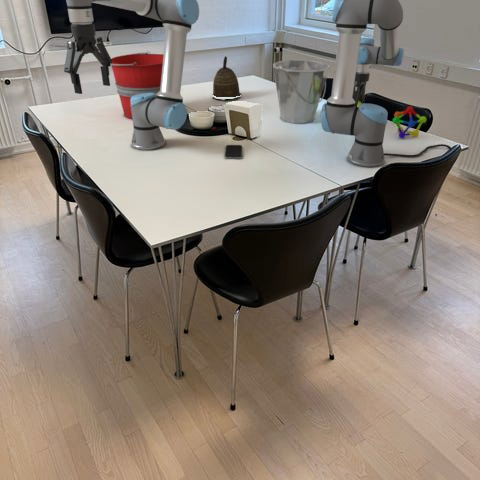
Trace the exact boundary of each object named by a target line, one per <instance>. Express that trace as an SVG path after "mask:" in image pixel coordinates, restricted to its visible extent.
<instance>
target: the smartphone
mask: <svg viewBox="0 0 480 480" xmlns="http://www.w3.org/2000/svg"><path fill="white" fill-rule="evenodd" d="M242 154H243V146H242V145H241V144H226V146H225V154H224V157H225V159H242V157H243V155H242Z"/></svg>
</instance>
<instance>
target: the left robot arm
mask: <svg viewBox="0 0 480 480" xmlns="http://www.w3.org/2000/svg"><path fill="white" fill-rule="evenodd" d="M65 1H66V6H67V13H68V18H69V23H70V29H71V36H73V38H74V41H71V40H67V41H66V48H67V50H66V56H65V62H64V68H63V72H64V73H66V74H69V76H70V81H71V84H72V85H73V89H74V94H78V95H82V94H83V90H82V83H81V78H80V74H79V73H78V71H79V67H80V65H81V63H82V60H83V58H84V56H85V55H88V54H92V55H93V56H94V57H95V58H96V60H97V61H98V62H99V64H100V65H101V66H100V67H99V68H100V73H101V80H102V86H107V87H110V86H111V81H110V69H109V68H110V67H112V66H111V64H112V60H111V59H112V57H111V55H110V54H109V52H108V50H107V47H106V46H105V44H104V40H103V37H102V36H97V35H96V34H97V33H96V28H95V24H94V23H93V22H94V14H93V6H92V4H93V3H94V4H99V5H103V6H107V7H113V8H118V9H123V10H127V11H132V12H135V13H136V14H137V15H139V16H143V17H145V18H150V19H153V20H156V21H159V22H162V26H163V27H164V30H165V34H164V35H165V36H164V47H163V55H164V56H163V66H162V76H161V86H160V91H159V92H158V93H157V94H156V93H142V94H137V95H134V96H132V97H131V105H130V106H131V112H132V119H131V120H132V125H133V132H132V135H131V140H130V143H131V147H132V148H134V149H135V150H141V151H151V150H153V151H154V150H157V149H161V148H163V147H164V146H165V144H166V140H165V137H164V135H163V132H162V130H161V128H163V129H166V130H172V131H174V130H178V129H180V128H182V126H183V125H184V124H185V122H186V120H187V118H188V109H187V106H186V105H185V104H184V97H183V96H182V94H181V90H182V89H181V88H182V82H183V72H184V64H185V56H186V55H185V53H186V46H187V36H188V34H189V33H190V32H191V31H192V27H193V25H194V24H196V23H197V21H198V20H199V16H200V6H199V2H198V0H65Z"/></svg>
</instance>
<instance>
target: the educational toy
mask: <svg viewBox="0 0 480 480" xmlns="http://www.w3.org/2000/svg"><path fill="white" fill-rule="evenodd" d="M407 114H408V115H409V121H407V120H402V118H403V117H405V116H406V115H407ZM412 114H413V115H414V116H415V117H417V118H418V119H417V120H414V119H413V115H412ZM393 116H394V117H393V118H392V124H394V125H396V127H397V128H396V132H397V133H398V137H399V138H400V139H404V138H405V137H406V136H413V137H418V136H419V134H420V131H419V130H420V128H421V126H422V125H423V124H425V123H426V122H427V117H426V116H424V115H423V116H421V115H420V114H418V113H417V112H416V111H414V107H413V106H407V107H406V109H405V110H403V111H395V112H394V113H393ZM401 124H406V125H408V126H407V127H406V128H405V129H404V127H402V126H401ZM416 124H418V125H417V127H416V129H414V130H413V131H412V130H409V129H410V128H413V127H414V126H415V125H416Z"/></svg>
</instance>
